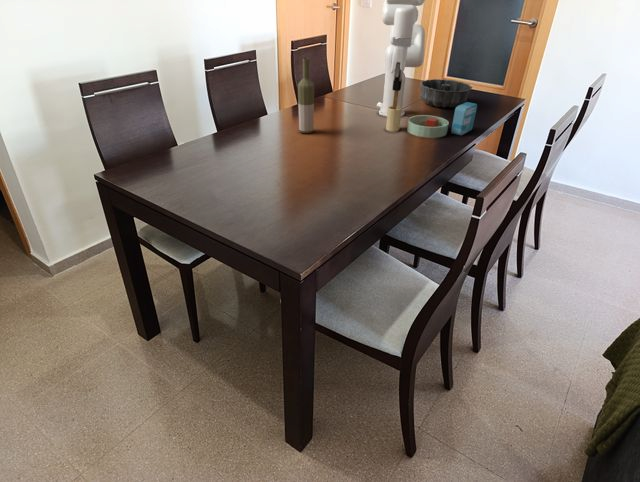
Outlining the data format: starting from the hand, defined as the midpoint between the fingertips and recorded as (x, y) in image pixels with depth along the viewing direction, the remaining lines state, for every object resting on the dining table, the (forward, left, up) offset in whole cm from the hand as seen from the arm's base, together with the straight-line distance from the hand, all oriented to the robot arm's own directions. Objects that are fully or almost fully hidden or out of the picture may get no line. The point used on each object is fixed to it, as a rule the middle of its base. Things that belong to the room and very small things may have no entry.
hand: (396, 89), depth 181 cm
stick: (0, 0, -11) cm, 11 cm away
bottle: (-25, -29, -18) cm, 42 cm away
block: (+11, +14, -17) cm, 25 cm away
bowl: (+12, +9, -18) cm, 23 cm away
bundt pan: (-7, +55, -18) cm, 58 cm away
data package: (+23, +20, -18) cm, 35 cm away
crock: (0, 0, -18) cm, 18 cm away
